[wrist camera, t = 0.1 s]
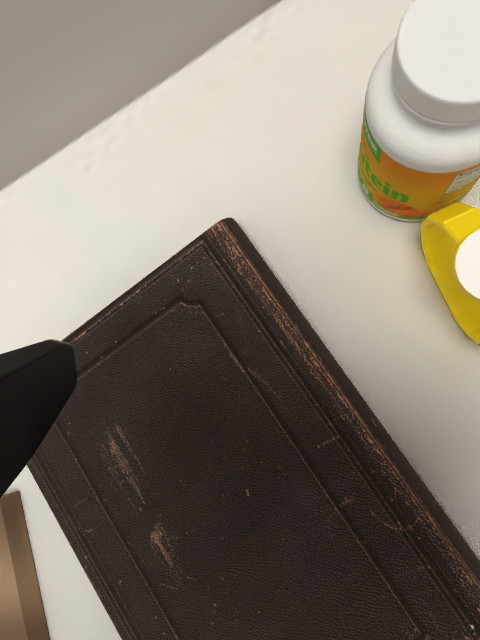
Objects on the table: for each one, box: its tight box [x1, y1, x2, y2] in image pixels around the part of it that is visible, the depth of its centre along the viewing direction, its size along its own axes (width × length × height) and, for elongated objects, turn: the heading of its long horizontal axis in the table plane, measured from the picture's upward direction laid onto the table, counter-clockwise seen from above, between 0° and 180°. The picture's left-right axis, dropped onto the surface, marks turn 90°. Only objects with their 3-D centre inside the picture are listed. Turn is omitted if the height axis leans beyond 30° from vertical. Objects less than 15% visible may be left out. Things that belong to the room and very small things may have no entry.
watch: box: [421, 202, 480, 345], centre depth 19 cm, size 6×3×6 cm, turn 23°
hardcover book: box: [27, 218, 480, 640], centre depth 22 cm, size 16×23×2 cm
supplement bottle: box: [358, 0, 480, 222], centre depth 18 cm, size 5×5×10 cm
